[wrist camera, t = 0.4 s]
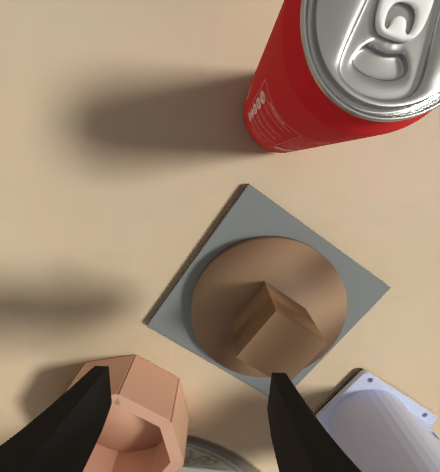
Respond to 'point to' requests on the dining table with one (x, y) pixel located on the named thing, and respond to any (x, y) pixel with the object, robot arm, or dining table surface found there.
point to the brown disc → (268, 306)
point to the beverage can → (344, 72)
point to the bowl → (140, 419)
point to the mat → (248, 226)
